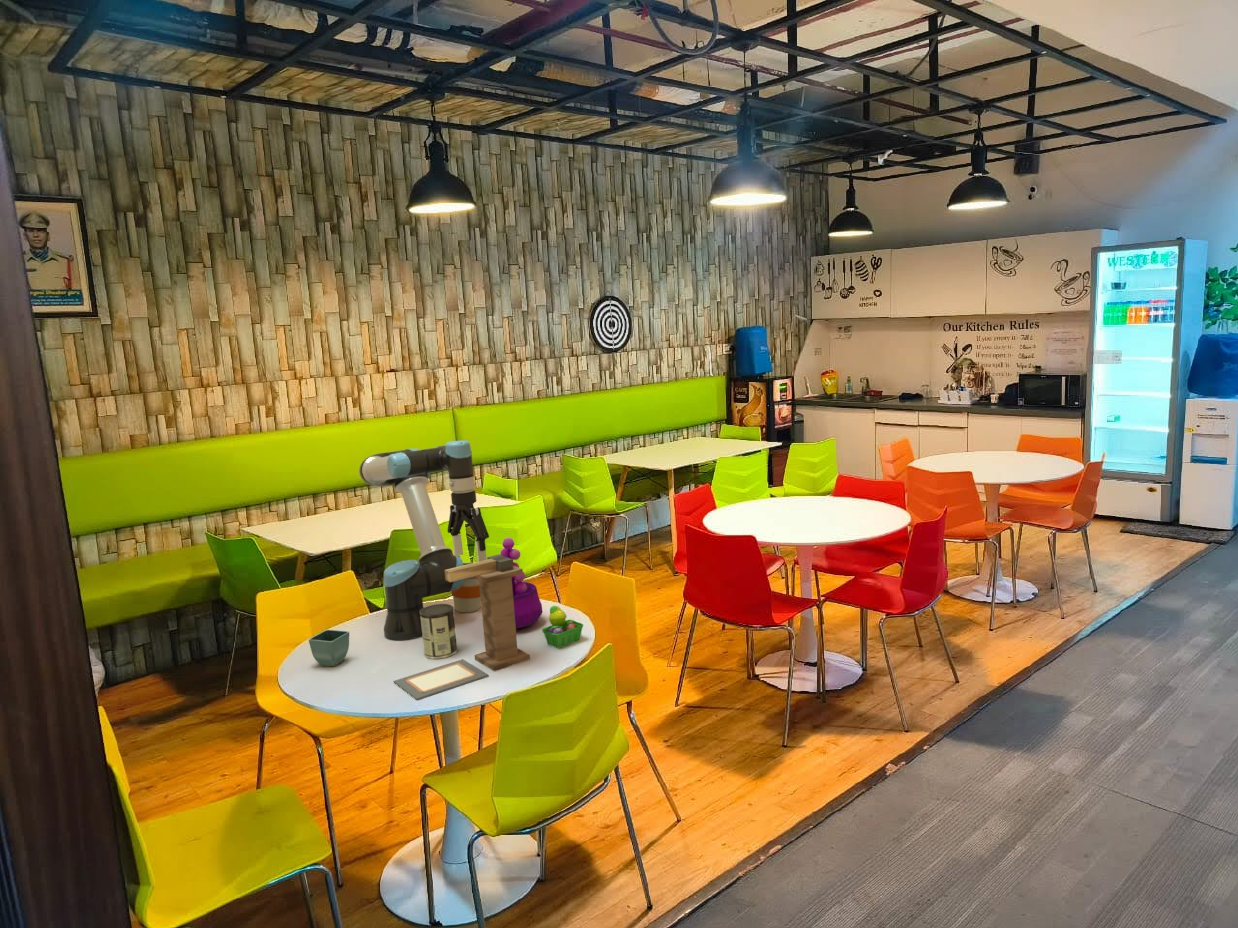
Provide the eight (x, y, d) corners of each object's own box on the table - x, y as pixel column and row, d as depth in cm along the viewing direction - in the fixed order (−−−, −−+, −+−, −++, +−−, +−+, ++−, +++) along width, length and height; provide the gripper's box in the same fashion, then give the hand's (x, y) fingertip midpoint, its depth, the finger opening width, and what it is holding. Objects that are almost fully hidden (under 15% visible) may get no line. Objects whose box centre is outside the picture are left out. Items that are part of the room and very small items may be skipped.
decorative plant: (477, 625, 284) (469, 538, 279) (525, 611, 295) (518, 527, 290) (504, 639, 269) (496, 548, 264) (553, 624, 280) (547, 537, 275)
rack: (475, 659, 254) (466, 570, 250) (509, 648, 261) (502, 561, 257) (494, 671, 245) (486, 578, 240) (529, 659, 252) (522, 568, 247)
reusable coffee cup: (465, 615, 292) (466, 573, 290) (441, 608, 300) (442, 566, 298) (492, 608, 302) (493, 567, 300) (468, 600, 309) (469, 560, 308)
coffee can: (444, 643, 269) (440, 601, 267) (464, 650, 262) (460, 607, 260) (417, 654, 262) (412, 610, 259) (436, 661, 254) (432, 617, 252)
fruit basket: (556, 650, 258) (554, 615, 256) (539, 643, 264) (536, 609, 262) (585, 639, 265) (583, 605, 263) (568, 633, 272) (565, 599, 270)
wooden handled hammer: (441, 578, 243) (440, 568, 242) (499, 563, 254) (498, 554, 254) (454, 584, 237) (453, 573, 236) (513, 569, 248) (512, 559, 247)
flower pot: (353, 658, 261) (350, 630, 260) (335, 669, 253) (331, 641, 252) (329, 656, 264) (326, 629, 263) (311, 667, 256) (307, 639, 254)
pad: (393, 682, 241) (393, 680, 241) (462, 660, 254) (462, 658, 254) (416, 700, 229) (416, 697, 228) (488, 676, 242) (488, 673, 241)
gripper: (431, 490, 267) (439, 555, 270) (474, 495, 248) (482, 566, 251) (452, 486, 272) (459, 550, 275) (495, 491, 253) (503, 560, 256)
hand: (470, 558), depth 263 cm, fingers open, 13 cm apart
